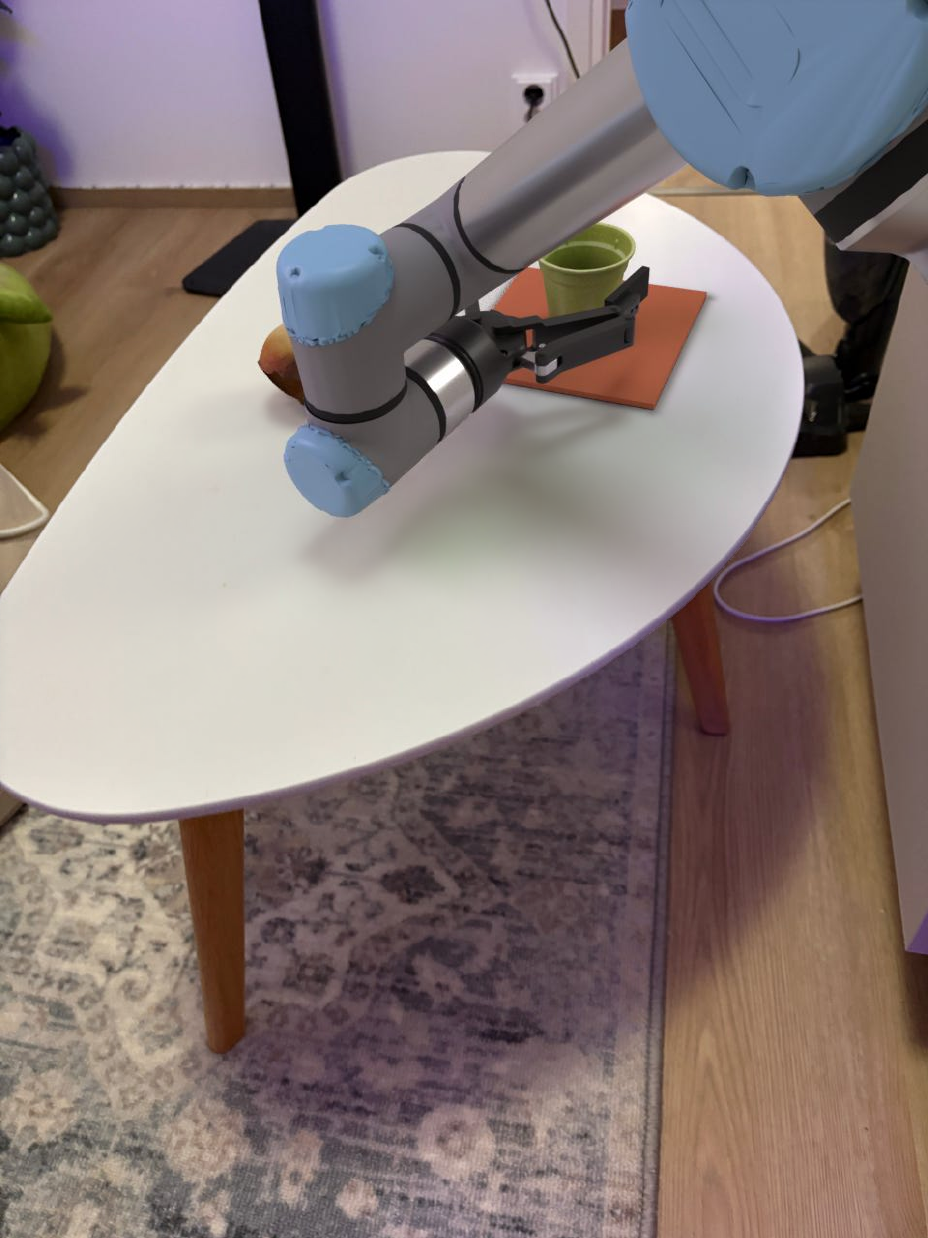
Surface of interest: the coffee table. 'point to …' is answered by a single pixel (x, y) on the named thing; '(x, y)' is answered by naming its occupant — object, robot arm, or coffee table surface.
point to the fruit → (281, 363)
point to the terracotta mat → (622, 373)
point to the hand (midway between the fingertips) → (580, 262)
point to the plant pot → (586, 269)
